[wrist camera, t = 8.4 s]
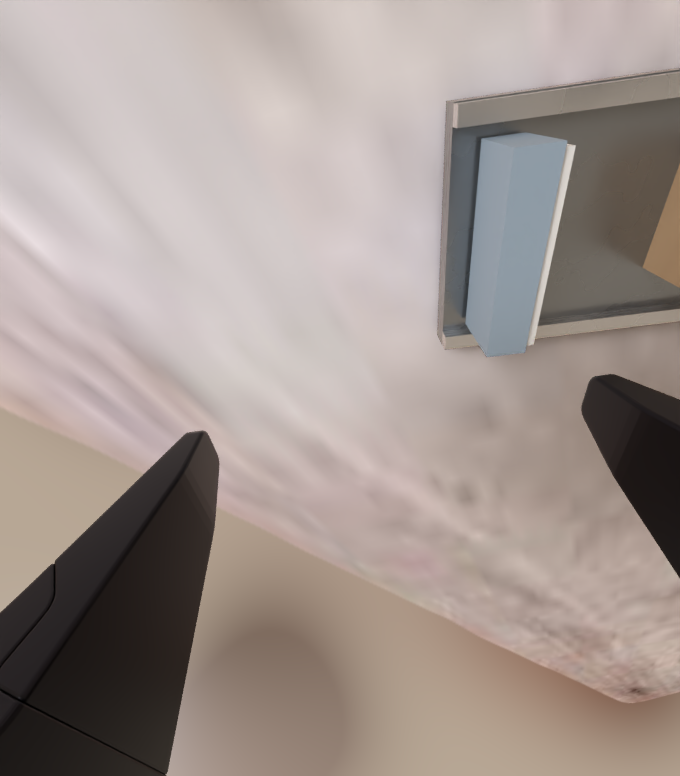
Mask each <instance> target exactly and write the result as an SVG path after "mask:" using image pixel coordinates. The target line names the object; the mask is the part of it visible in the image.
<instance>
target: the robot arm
mask: <svg viewBox="0 0 680 776" xmlns="http://www.w3.org/2000/svg"><path fill="white" fill-rule="evenodd" d="M581 410H582V415H583V418H584V420H585V422H586V424H587V426H588V428H589V430H590V432H591V433H592V435H593V437H594V439H595V441H596V443H597V445H598V447H599V449H600V451H601V453H602V455H603V457H604V459H605V461H606V463H607V465H608V467H609V469H610V471H611V472H612V474H613V476H614V478H615V479H616V481H617V483H618V484H619V486H620V487H621V489H622V490H623V492H624V493H625V495H626V497H627V498H628V500H629V501H630V503H631V504H632V506H633V507H634V509H635V510H636V512H637V513H638V515H639V516H640V518H641V519H642V521H643V523H644V524H645V526H646V527H647V529H648V530H649V532H650V533H651V535H652V536H653V538H654V539H655V541H656V542H657V544H658V546H659V547H660V549H661V550H662V552H663V553H664V555H665V556H666V558H667V559H668V561H669V562H670V564H671V565H672V567H673V569H674V570H675V572H676V573H677V575H678V576H679V578H680V400H679V399H676V398H674V397H671V396H669V395H666V394H664V393H661V392H658V391H656V390H653V389H651V388H648V387H646V386H643V385H640V384H638V383H635V382H633V381H630V380H627V379H625V378H622V377H620V376H617V375H614V374H608V375H601V376H595V377H593V378H592V379H591V380H590V381H589V383H588V387H587V390H586V393H585V396H584V399H583V403H582V408H581ZM218 477H219V458H218V455H217V452H216V450H215V448H214V446H213V444H212V441H211V439H210V437H209V435H208V433H207V432H205V431H195V432H189V433H186V434H185V435H184V436H183V437H182V438H181V439H180V440H179V441H177V442H176V443H175V444H174V445H173V446H172V447H171V448H170V449H169V450H168V451H167V452H166V453H165V454H164V455H163V456H162V457H161V458H160V459H159V460H158V461H157V462H156V463H155V464H154V465H153V466H152V467H151V468H150V469H149V470H148V471H147V472H146V473H145V474H144V475H143V476H142V477H140V478H139V479H138V480H137V481H136V482H135V483H134V484H133V485H132V486H131V487H130V488H129V489H128V490H127V491H126V492H125V493H124V494H123V495H122V496H121V497H120V498H119V499H118V500H117V501H116V502H115V503H114V504H113V505H112V506H111V507H110V508H109V509H108V510H107V511H106V512H104V513H103V514H102V516H100V517H99V518H98V519H97V520H96V521H95V522H94V523H93V524H92V525H91V526H90V527H89V528H88V529H87V530H86V531H85V532H84V533H83V534H82V535H81V536H80V537H79V538H78V539H77V540H76V541H75V542H74V543H73V544H72V545H71V546H70V547H68V549H67V550H65V551H64V552H63V553H62V554H61V555H60V556H59V557H58V558H57V559H56V560H55V564H51V565H50V566H49V567H48V568H47V569H46V570H45V571H44V572H43V573H42V574H41V575H40V576H39V577H38V578H36V580H34V581H33V582H32V583H31V584H30V585H29V586H28V587H27V588H26V589H25V590H24V591H23V592H22V593H21V594H20V595H19V596H18V597H16V598H15V599H14V600H13V601H12V602H11V603H10V604H9V605H8V606H7V607H6V608H5V609H4V610H3V611H1V612H0V776H166V775H165V774H167V772H168V767H169V762H170V756H171V751H172V746H173V741H174V736H175V730H176V725H177V720H178V715H179V709H180V705H181V700H182V694H183V688H184V684H185V679H186V674H187V668H188V663H189V658H190V653H191V648H192V643H193V638H194V632H195V627H196V622H197V617H198V611H199V606H200V601H201V596H202V591H203V585H204V580H205V575H206V570H207V565H208V560H209V555H210V550H211V544H212V539H213V533H214V526H215V517H216V504H217V490H218Z"/></svg>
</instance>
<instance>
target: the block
mask: <svg viewBox="0 0 680 776" xmlns="http://www.w3.org/2000/svg"><path fill="white" fill-rule="evenodd" d="M642 268H644V269H646V270H648V271H649V272H651V273H653V274H655V275H657V276H659V277H661V278H662V279H664V280H666V281H668V282H670V283H672V284H673V285H675V286H677V287H679V288H680V164H679V167H678V170H677V173H676V175H675V178H674V181H673V184H672V187H671V189H670V192H669V195H668V198H667V201H666V203H665V206H664V209H663V212H662V214H661V217H660V220H659V223H658V226H657V228H656V231H655V234H654V237H653V240H652V242H651V245H650V248H649V251H648V254H647V256H646V259H645V262H644V265H643V267H642Z"/></svg>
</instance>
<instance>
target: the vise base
mask: <svg viewBox="0 0 680 776" xmlns="http://www.w3.org/2000/svg"><path fill="white" fill-rule="evenodd" d="M524 132H527V133H532V134H537V135H542V136H547V137H553V138H558V139H563V140H568V141H567V144H571V145H576V147H575V152H574V157H573V161H572V166H571V171H570V176H569V180H568V185H567V190H566V194H565V199H564V204H563V209H562V213H561V218H560V223H559V227H558V232H557V237H556V242H555V246H554V251H553V256H552V260H551V265H550V270H549V275H548V279H547V284H546V289H545V293H544V298H543V303H542V307H541V312H540V317H539V322H538V326H537V331H536V336H535V339H538V338H546V337H554V336H562V335H571V334H579V333H587V332H595V331H604V330H612V329H620V328H628V327H636V326H645V325H653V324H661V323H669V322H678V321H680V288H679V287H677V286H675V285H673V284H672V283H670V282H668V281H666V280H664V279H662V278H661V277H659V276H657V275H655V274H653V273H651V272H649V271H648V270H646V269H644V268H642V267H643V265H644V262H645V259H646V256H647V254H648V251H649V248H650V245H651V242H652V240H653V237H654V234H655V231H656V228H657V226H658V223H659V220H660V217H661V214H662V212H663V209H664V206H665V203H666V201H667V198H668V195H669V192H670V189H671V187H672V184H673V181H674V178H675V175H676V173H677V170H678V167H679V164H680V68H675V69H668V70H661V71H654V72H647V73H640V74H633V75H626V76H619V77H612V78H605V79H598V80H591V81H584V82H577V83H570V84H563V85H556V86H549V87H542V88H535V89H528V90H521V91H514V92H507V93H500V94H493V95H486V96H479V97H472V98H465V99H458V100H451V101H446V123H445V149H444V174H443V200H442V226H441V251H440V277H439V302H438V328H437V335H438V337H439V339H440V341H441V343H442V344H443V346H444V349H445V350H447V349H455V348H463V347H472V346H479V344H478V343H477V341H476V340H475V338H474V336H473V335H472V333H471V332H470V330H469V329H468V327H467V325H466V324H465V323H466V311H467V300H468V288H469V277H470V265H471V254H472V242H473V231H474V219H475V208H476V196H477V185H478V173H479V162H480V150H481V139H482V138H488V137H495V136H503V135H510V134H517V133H524Z"/></svg>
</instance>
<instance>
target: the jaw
mask: <svg viewBox="0 0 680 776" xmlns="http://www.w3.org/2000/svg"><path fill="white" fill-rule="evenodd" d="M567 141H568V140H563V139H558V138H553V137H547V136H542V135H537V134H532V133H527V132H524V133H517V134H510V135H503V136H495V137H488V138H482V139H481V150H480V162H479V173H478V185H477V196H476V208H475V219H474V231H473V242H472V254H471V265H470V277H469V288H468V300H467V311H466V323H465V324H466V325H467V327H468V329H469V330H470V332H471V333H472V335H473V336H474V338H475V340H476V341H477V343H478V344H479V346H480V347H481V349H482V351H483V352H484V354H485V355H486V357H493V356H501V355H510V354H518V353H525V351H526V346H529V345H534V340H535V336H536V331H537V326H538V322H539V317H540V312H541V307H542V303H543V298H544V293H545V289H546V284H547V279H548V275H549V270H550V265H551V260H552V256H553V251H554V246H555V242H556V237H557V232H558V227H559V223H560V218H561V213H562V209H563V204H564V199H565V194H566V190H567V185H568V180H569V176H570V171H571V166H572V161H573V157H574V152H575V147H576V145H571V144H567Z"/></svg>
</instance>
